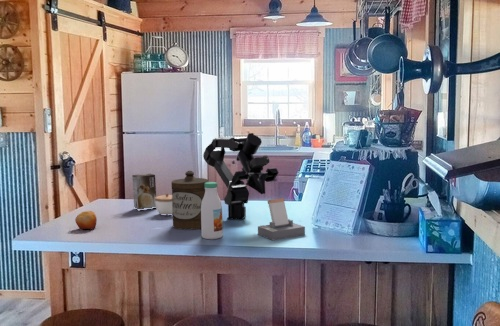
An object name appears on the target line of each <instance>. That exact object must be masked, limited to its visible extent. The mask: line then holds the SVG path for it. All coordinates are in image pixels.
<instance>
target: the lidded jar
mask: <svg viewBox="0 0 500 326" xmlns="http://www.w3.org/2000/svg"><path fill="white" fill-rule="evenodd" d="M155 205H156V209H155V210H157V211H156V212H158V213H159V214H160V215H161V214H166V215H168V214H172V194H169V193H167V192H166V193H165V194H163V195H156V197H155Z"/></svg>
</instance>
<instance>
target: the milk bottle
mask: <svg viewBox="0 0 500 326" xmlns="http://www.w3.org/2000/svg"><path fill="white" fill-rule="evenodd" d="M223 222H224V221H223V205H222V200H221V199H220V196H219V194H218V182H215V181H208V182H206V183H205V195H204V198H203V200H202V203H201V229H200V230H201V238H203V239H206V240H217V239H221V238H223V235H224V230H223V228H224V227H223V226H224V223H223Z"/></svg>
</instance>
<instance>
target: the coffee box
mask: <svg viewBox="0 0 500 326" xmlns="http://www.w3.org/2000/svg"><path fill="white" fill-rule="evenodd" d="M131 177H132V178H131V179H132V191H133V192H132V195H133V208H134V207H135V208H137V209H144V208H152V207H156V205H155V197H157V187H156V185H157V183H156V174H154V173H144V174H143V173H141V174H132V176H131Z"/></svg>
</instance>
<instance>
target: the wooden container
mask: <svg viewBox="0 0 500 326" xmlns="http://www.w3.org/2000/svg"><path fill="white" fill-rule="evenodd" d="M184 174H185V177H183V178H179V179H173V180H171V195H172V215H171V216H172V227H173V226H174V227H173V228H175V229H177V228H178V230H184V229H192V230H200V229H199V228H201V203H202V200H203V198H204V195H205V183H206V182H209V179H207V178H203V177H195V176H194V175H195V173H194V171H192V170H187V171H185V173H184Z"/></svg>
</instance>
